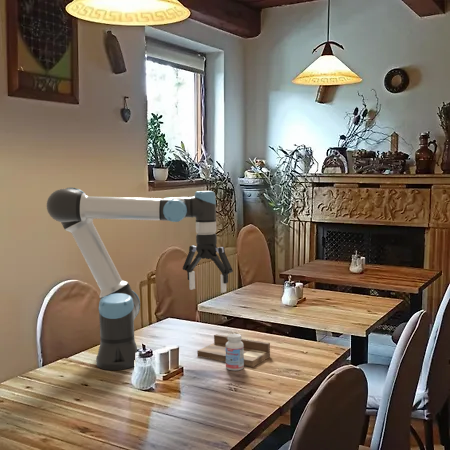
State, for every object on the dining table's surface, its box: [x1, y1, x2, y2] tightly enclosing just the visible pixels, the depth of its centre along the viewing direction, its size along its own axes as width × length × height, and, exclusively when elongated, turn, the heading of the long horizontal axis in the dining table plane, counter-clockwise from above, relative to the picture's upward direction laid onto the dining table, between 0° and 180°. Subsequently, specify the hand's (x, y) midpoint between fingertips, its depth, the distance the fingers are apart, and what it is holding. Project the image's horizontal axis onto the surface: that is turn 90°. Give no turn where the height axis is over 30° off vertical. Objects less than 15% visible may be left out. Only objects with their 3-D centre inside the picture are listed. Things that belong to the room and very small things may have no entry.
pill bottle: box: [225, 333, 245, 372], centre depth 197 cm, size 6×6×11 cm
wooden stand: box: [196, 333, 271, 367], centre depth 210 cm, size 12×23×5 cm, turn 56°
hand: (207, 290), depth 217 cm, fingers open, 13 cm apart
